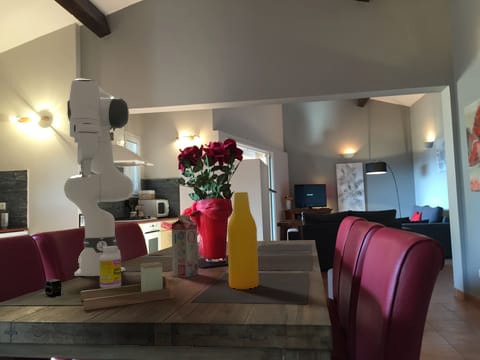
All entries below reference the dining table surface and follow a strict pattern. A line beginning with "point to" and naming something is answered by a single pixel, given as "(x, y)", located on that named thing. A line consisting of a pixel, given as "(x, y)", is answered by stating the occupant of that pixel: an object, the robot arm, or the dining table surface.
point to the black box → (52, 288)
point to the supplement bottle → (110, 267)
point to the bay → (125, 295)
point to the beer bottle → (242, 245)
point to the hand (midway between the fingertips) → (85, 176)
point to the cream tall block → (151, 276)
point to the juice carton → (184, 247)
